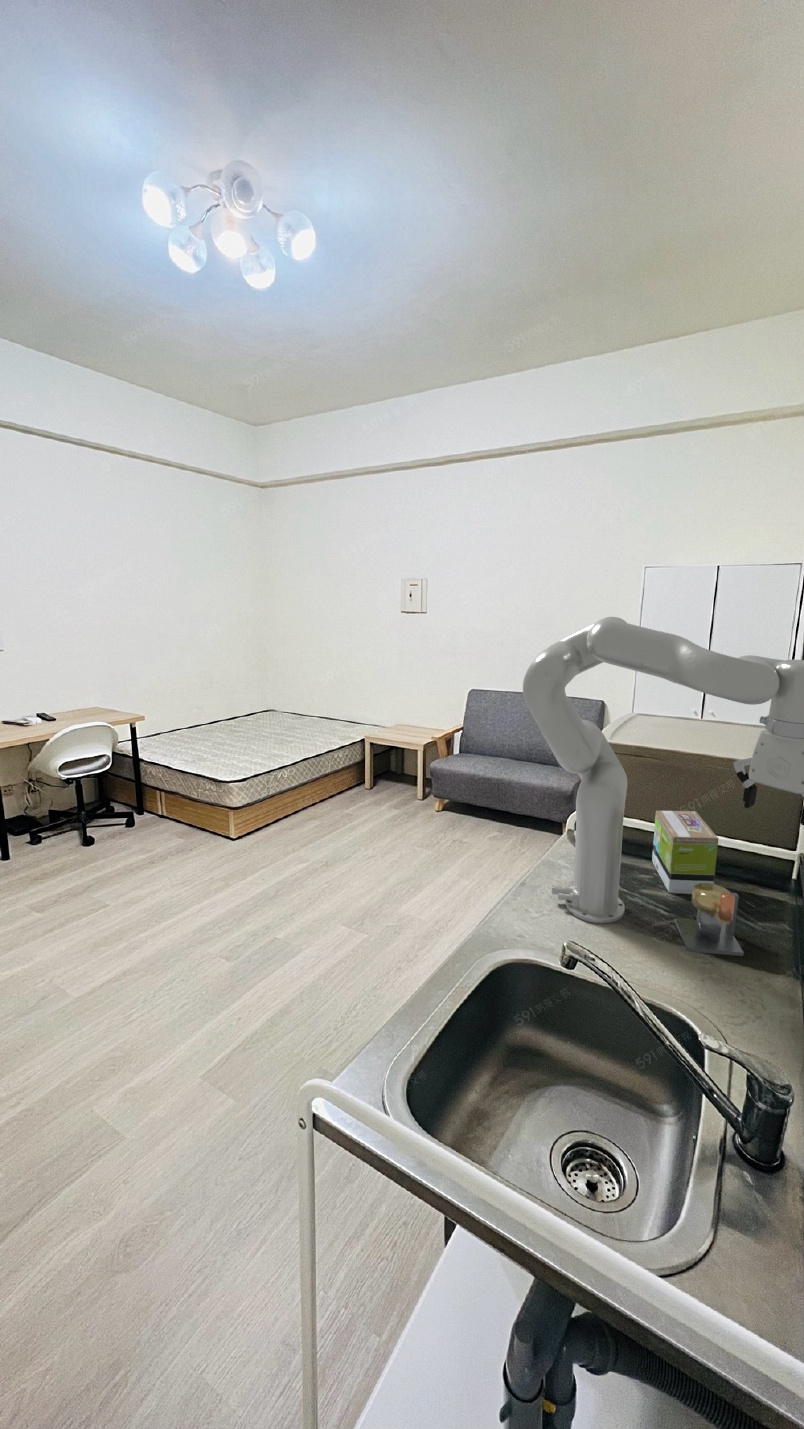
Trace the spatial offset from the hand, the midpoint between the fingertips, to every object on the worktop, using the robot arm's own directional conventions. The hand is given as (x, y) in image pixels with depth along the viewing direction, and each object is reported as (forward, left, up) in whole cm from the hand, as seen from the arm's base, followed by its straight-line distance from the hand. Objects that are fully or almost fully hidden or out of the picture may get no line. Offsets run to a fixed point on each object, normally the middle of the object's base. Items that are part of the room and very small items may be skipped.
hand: (776, 814), depth 111 cm
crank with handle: (-10, -3, -20) cm, 22 cm away
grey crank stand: (-10, -1, -27) cm, 29 cm away
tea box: (-9, +23, -28) cm, 37 cm away
